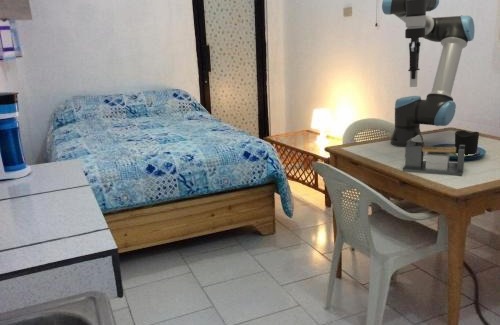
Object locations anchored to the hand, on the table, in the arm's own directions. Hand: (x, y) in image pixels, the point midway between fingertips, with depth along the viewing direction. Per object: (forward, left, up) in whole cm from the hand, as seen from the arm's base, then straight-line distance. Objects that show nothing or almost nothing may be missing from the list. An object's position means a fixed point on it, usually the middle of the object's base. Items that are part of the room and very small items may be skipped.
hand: (413, 86), depth 182 cm
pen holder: (-14, +21, -33) cm, 41 cm away
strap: (+9, +10, -25) cm, 28 cm away
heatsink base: (+9, +10, -32) cm, 35 cm away
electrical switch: (-7, +1, -33) cm, 33 cm away
